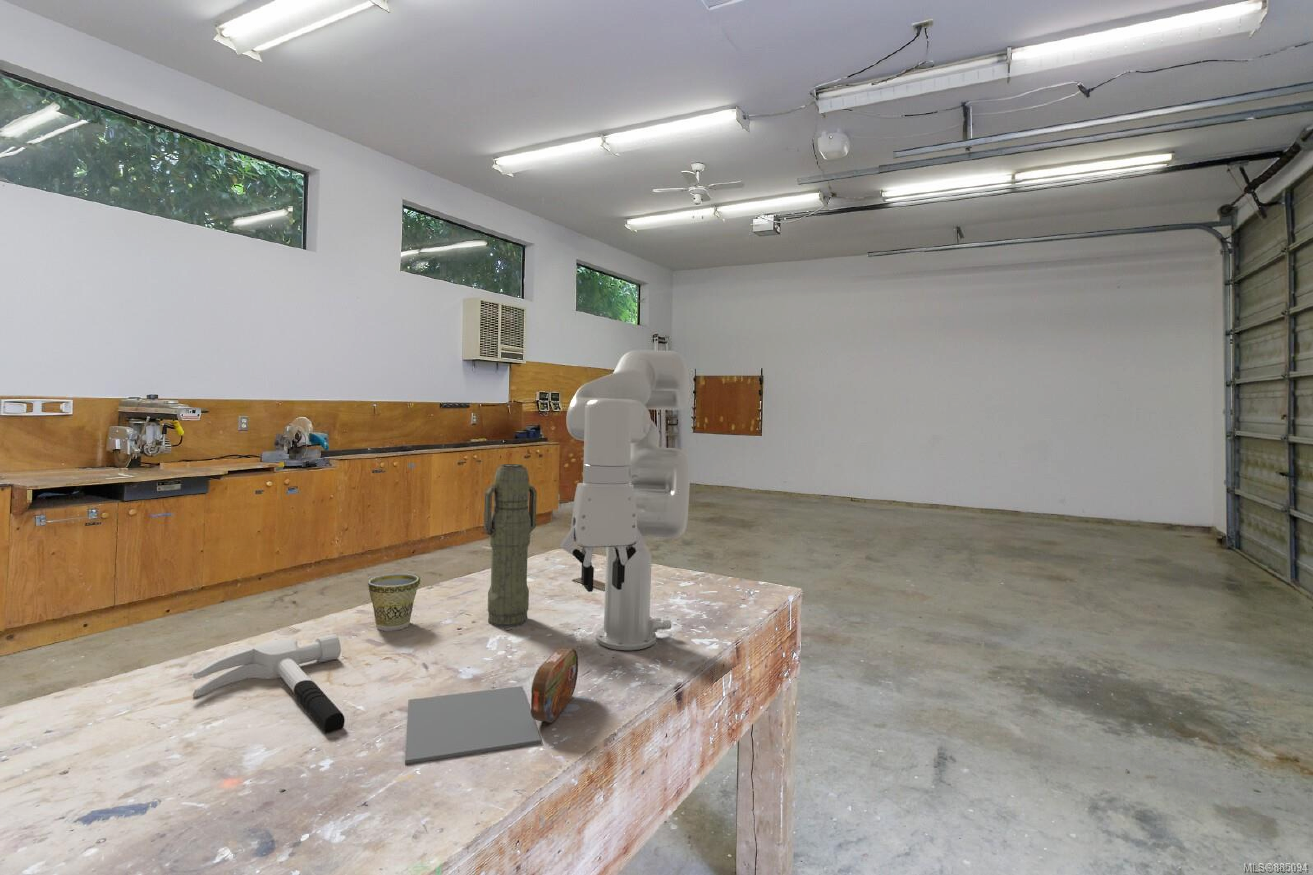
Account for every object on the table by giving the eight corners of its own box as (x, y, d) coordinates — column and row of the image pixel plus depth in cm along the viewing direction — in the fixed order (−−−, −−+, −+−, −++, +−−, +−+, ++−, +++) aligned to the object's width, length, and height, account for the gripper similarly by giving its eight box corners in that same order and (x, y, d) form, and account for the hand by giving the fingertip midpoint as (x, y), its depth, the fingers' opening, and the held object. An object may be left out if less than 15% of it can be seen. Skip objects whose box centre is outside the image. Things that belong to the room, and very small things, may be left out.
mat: (522, 688, 105) (522, 686, 105) (540, 743, 88) (540, 739, 88) (408, 702, 99) (408, 699, 99) (405, 764, 82) (405, 760, 82)
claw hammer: (399, 686, 96) (332, 627, 117) (230, 737, 80) (187, 658, 101) (398, 720, 96) (331, 655, 117) (229, 777, 81) (186, 690, 101)
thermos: (541, 619, 140) (546, 465, 138) (496, 632, 131) (500, 467, 130) (519, 610, 146) (523, 462, 144) (474, 621, 137) (478, 464, 136)
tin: (544, 733, 90) (549, 676, 90) (524, 729, 91) (529, 672, 91) (577, 691, 105) (582, 642, 105) (560, 688, 106) (564, 639, 105)
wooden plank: (572, 578, 172) (585, 574, 176) (572, 582, 172) (585, 578, 176) (613, 592, 161) (626, 588, 165) (613, 597, 161) (626, 593, 165)
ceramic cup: (394, 636, 126) (395, 588, 126) (356, 629, 130) (357, 582, 129) (436, 618, 139) (437, 573, 138) (401, 611, 142) (402, 568, 142)
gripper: (647, 473, 106) (643, 579, 106) (550, 473, 100) (546, 585, 100) (663, 478, 99) (659, 591, 99) (559, 478, 93) (555, 599, 93)
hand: (602, 587), depth 100 cm, fingers open, 4 cm apart
